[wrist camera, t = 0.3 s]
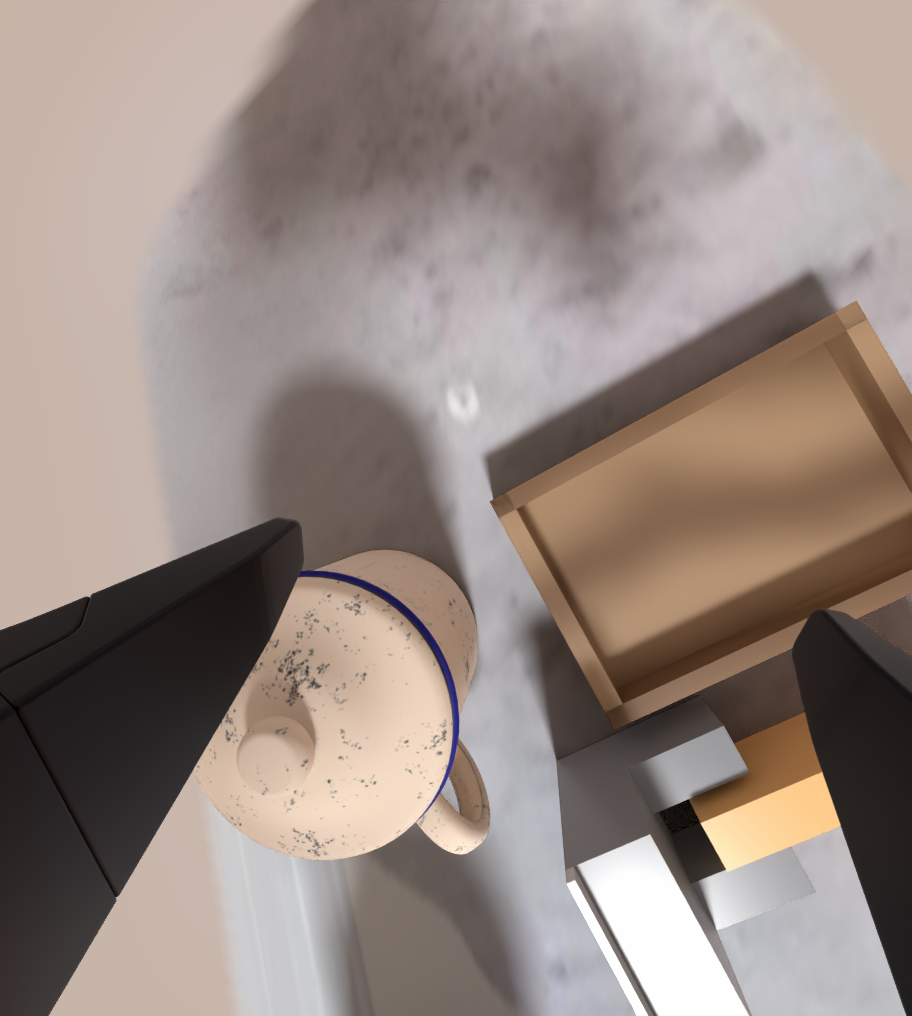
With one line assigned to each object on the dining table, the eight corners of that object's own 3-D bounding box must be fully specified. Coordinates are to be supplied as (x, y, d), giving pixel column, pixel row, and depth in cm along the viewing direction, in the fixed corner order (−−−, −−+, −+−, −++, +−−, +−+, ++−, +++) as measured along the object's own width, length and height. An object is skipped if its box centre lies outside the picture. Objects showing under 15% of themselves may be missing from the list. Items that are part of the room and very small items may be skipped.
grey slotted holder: (779, 839, 23) (900, 1011, 15) (631, 899, 24) (676, 1088, 16) (699, 695, 23) (779, 795, 16) (556, 760, 24) (566, 883, 17)
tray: (956, 544, 21) (1004, 551, 19) (607, 707, 24) (614, 729, 22) (824, 319, 22) (856, 300, 20) (493, 500, 24) (489, 501, 22)
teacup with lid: (262, 625, 26) (47, 734, 15) (396, 503, 25) (277, 516, 13) (421, 818, 25) (326, 1096, 14) (568, 702, 24) (599, 899, 12)
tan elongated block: (942, 703, 22) (1032, 750, 18) (695, 808, 24) (728, 872, 20) (916, 658, 22) (1000, 695, 18) (672, 766, 24) (700, 821, 20)
